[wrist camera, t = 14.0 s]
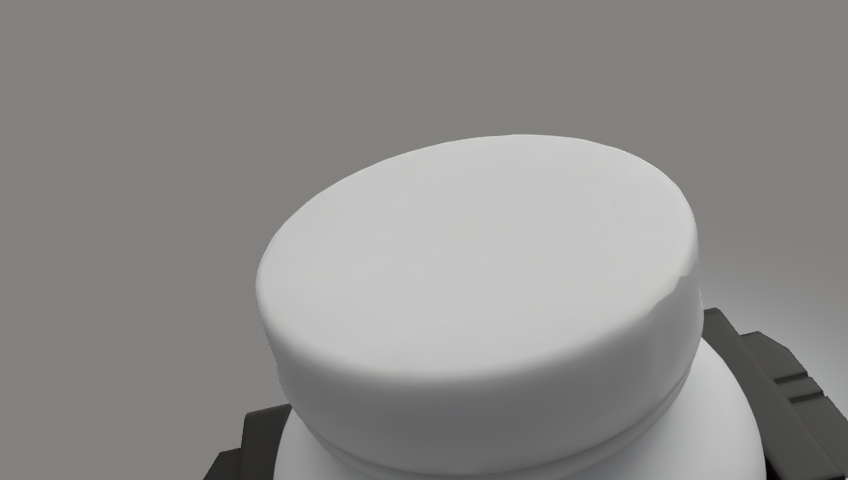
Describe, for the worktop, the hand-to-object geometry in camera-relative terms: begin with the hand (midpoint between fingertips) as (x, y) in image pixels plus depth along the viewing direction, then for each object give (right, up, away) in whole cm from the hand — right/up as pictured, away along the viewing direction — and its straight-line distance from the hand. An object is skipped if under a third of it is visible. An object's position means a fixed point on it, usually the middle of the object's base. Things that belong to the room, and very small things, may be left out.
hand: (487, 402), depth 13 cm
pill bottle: (+2, -7, +1) cm, 7 cm away
